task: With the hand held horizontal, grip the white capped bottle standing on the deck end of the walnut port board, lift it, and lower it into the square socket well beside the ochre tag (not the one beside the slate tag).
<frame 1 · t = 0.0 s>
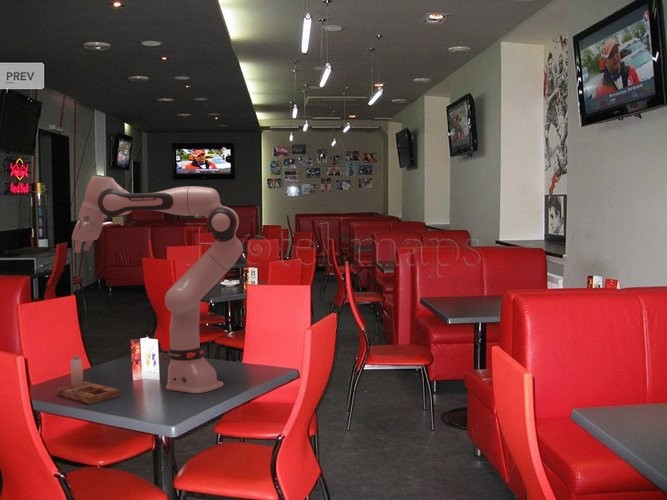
hand: (81, 251, 251), 52 cm above the table, tool tilted 20°, fingers open, 8 cm apart
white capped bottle: (77, 386, 246), point 2 cm above the table, touching port board
port board: (88, 396, 242), on the table
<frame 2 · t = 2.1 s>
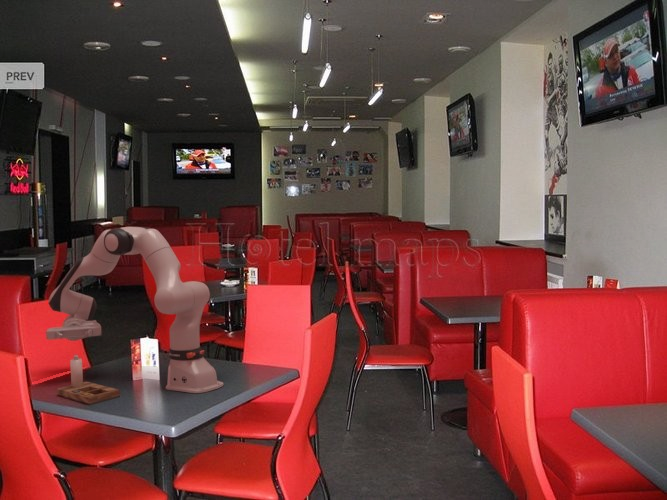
hand: (74, 335, 256), 19 cm above the table, tool horizontal, fingers open, 8 cm apart
nothing on the table moved.
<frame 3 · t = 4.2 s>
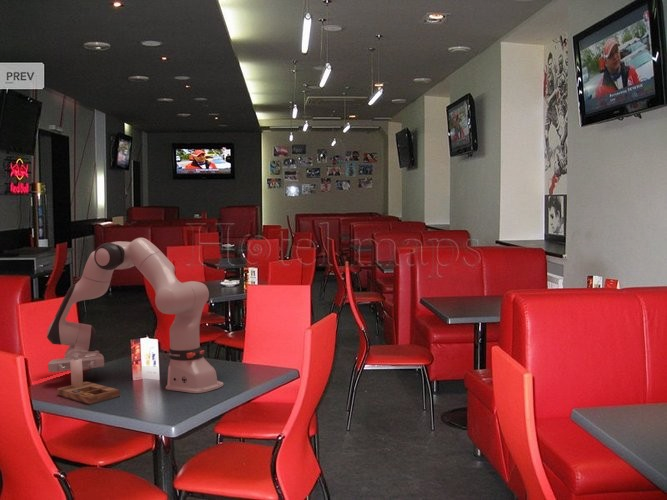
hand: (76, 367, 252), 8 cm above the table, tool horizontal, fingers open, 8 cm apart
nothing on the table moved.
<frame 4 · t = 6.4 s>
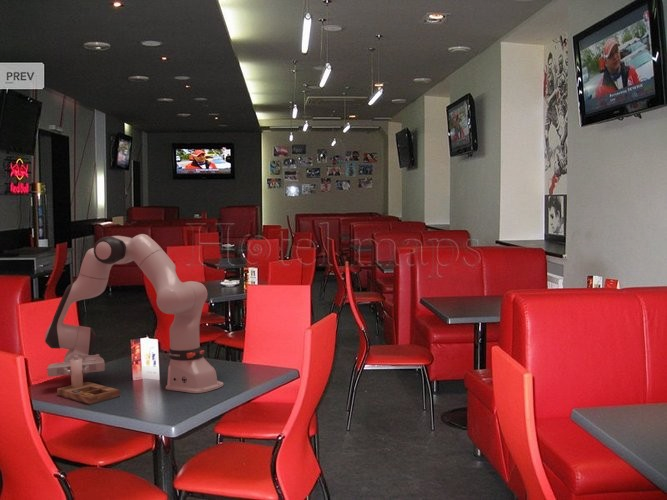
hand: (76, 372, 245), 8 cm above the table, tool horizontal, fingers closed on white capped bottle, 4 cm apart
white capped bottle: (77, 386, 246), point 3 cm above the table, touching gripper, port board
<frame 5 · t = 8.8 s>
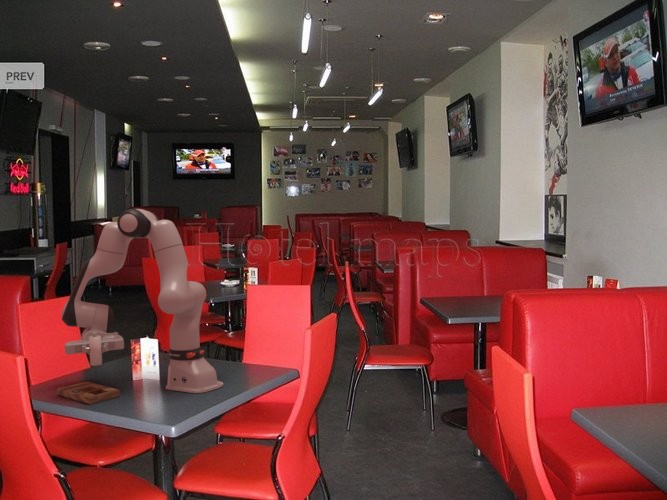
hand: (95, 349, 236), 18 cm above the table, tool horizontal, fingers closed on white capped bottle, 4 cm apart
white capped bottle: (96, 364, 237), point 12 cm above the table, touching gripper
when the fingers open (8 cm above the table, at t = 11.6 s): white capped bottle drops 2 cm, resting on port board.
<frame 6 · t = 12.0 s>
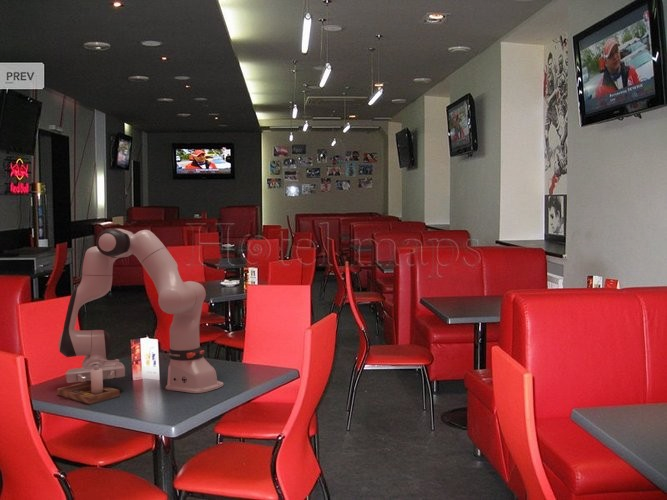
hand: (96, 378, 237), 8 cm above the table, tool horizontal, fingers open, 8 cm apart
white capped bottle: (97, 397, 238), point 1 cm above the table, touching port board
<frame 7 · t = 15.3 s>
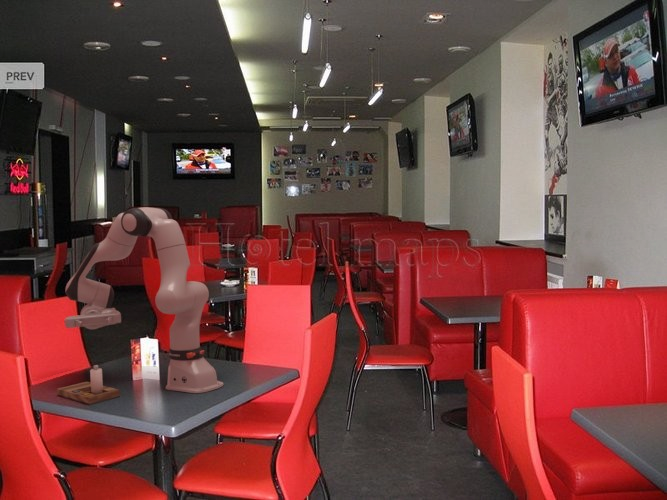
hand: (94, 322, 249), 25 cm above the table, tool horizontal, fingers open, 8 cm apart
nothing on the table moved.
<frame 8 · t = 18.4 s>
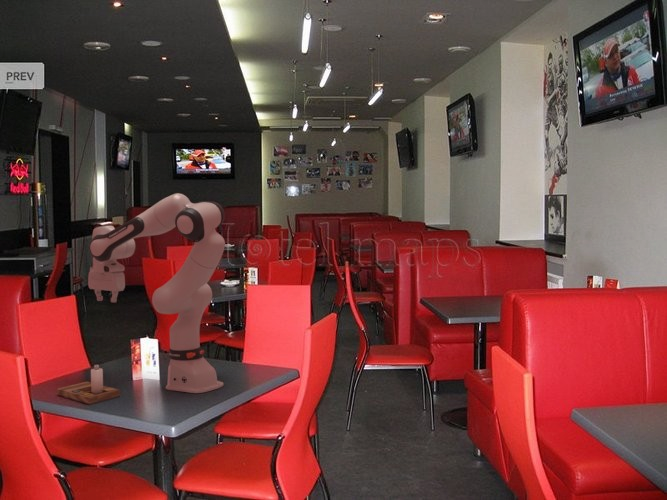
hand: (106, 301, 264), 31 cm above the table, tool pointing down, fingers open, 8 cm apart
nothing on the table moved.
at the end: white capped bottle 0.1 cm from the target spot on the port board, point 0.6 cm above the port board's base; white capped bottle tilted 2°; the gripper is holding nothing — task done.
